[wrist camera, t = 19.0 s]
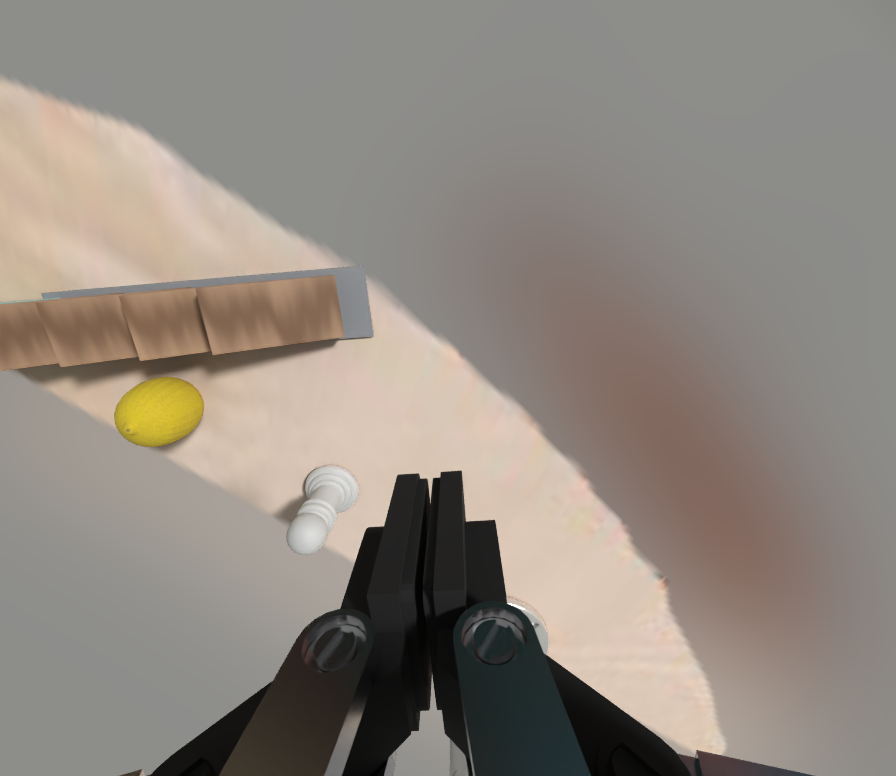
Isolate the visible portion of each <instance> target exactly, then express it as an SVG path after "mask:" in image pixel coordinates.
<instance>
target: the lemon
mask: <svg viewBox="0 0 896 776" xmlns="http://www.w3.org/2000/svg"><path fill="white" fill-rule="evenodd" d="M203 411H204V403H203V399H202V396H201V394H200V393H199V391H198V390H197V389H196V388H195V387H194V386H193V385H192V384H190V383H189V382H187V381H184V380H182V379H179V378H173V377H161V378H154V379H151V380H148V381H145V382H143V383H140V384H138V385H137V386H135V387H134V388H133V389H131V390H130V391H129V392H127V393H126V394H125V395H124V396H123V397H122V398H121V400H120V401H119V403H118V404H117V406H116V410H115V414H114V418H115V424H116V427H117V429H118V431H119V432H120V434H121V435H122V436H123V437H124V438H126V439H127V440H128V441H130V442H132V443H134V444H136V445H140V446H145V447H157V446H162V445H167V444H170V443H173V442H175V441H177V440H179V439H181V438H183V437H185V436H186V435H188V434H189V433H190V432H191V431H192V430H193V429H194V428H195V427H196V426H197V425H198V423H199V422H200V420H201V418H202V416H203Z"/></svg>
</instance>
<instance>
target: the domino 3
mask: <svg viewBox="0 0 896 776" xmlns="http://www.w3.org/2000/svg"><path fill="white" fill-rule="evenodd" d="M256 282H262V281H256ZM246 283H251V282H246ZM236 284H240V283H236ZM226 285H229V284H226ZM216 286H219V285H216ZM206 287H208V286H206ZM195 288H200V287H195ZM195 288H185V289H175V290H165V291H155V292H145V293H135V294H127V295H121V296H119V299H120V302H121V305H122V308H123V311H124V314H125V317H126V320H127V323H128V326H129V329H130V332H131V335H132V338H133V341H134V344H135V347H136V350H137V353H138V356H139V359H140V361H144V360H151V359H159V358H166V357H173V356H181V355H188V354H195V353H203V352H210V351H212V350H211V347H210V343H209V339H208V335H207V332H206V328H205V324H204V320H203V317H202V313H201V309H200V305H199V301H198V298H197V294H196V290H195Z"/></svg>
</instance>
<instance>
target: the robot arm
mask: <svg viewBox="0 0 896 776" xmlns="http://www.w3.org/2000/svg"><path fill="white" fill-rule="evenodd" d="M548 647H549V639H548V633H547V630H546V626H545V624H544V622H543V620H542V618H541V617H540V616H539V614H538V613H537V612H536V611H535V610H534V609H532V608H531V607H530V606H528V605H527V604H524V603H522V602H520V601H518V600H515V599H512V598H508V597H506V591H505V584H504V577H503V571H502V564H501V557H500V550H499V543H498V536H497V529H496V523H495V520H487V521H470V522H466V518H465V505H464V493H463V481H462V471H450V472H441V477H440V478H433V484H432V494H431V504H430V497H429V488H428V480H427V479H420V476H419V473H418V474H403V475H398V476H397V479H396V483H395V486H394V490H393V494H392V498H391V502H390V506H389V510H388V514H387V518H386V521H385V525H384V527H368V528H367V529H366V531H365V533H364V536H363V540H362V543H361V546H360V549H359V552H358V555H357V558H356V561H355V565H354V568H353V571H352V574H351V577H350V580H349V583H348V587H347V590H346V593H345V596H344V599H343V602H342V606H341V608H340V609H337V610H334V611H330V612H327V613H325V614H323V615H321V616H319V617H318V618H316V619H314V620H313V621H312V622H311V623H310V624H308V625H307V626H306V627H305V628H304V629H303V631H302V632H301V634H300V635H299V636H298V638H297V639H296V641H295V643H294V644H293V646H292V648H291V650H290V651H289V653H288V655H287V657H286V659H285V660H284V662H283V664H282V666H281V667H280V669H279V671H278V673H277V674H276V676H275V678H274V680H273V681H272V682H270V683H269V684H268V685H266V686H265V687H264V688H262V689H261V690H260V691H258V692H257V693H255V694H254V695H253V696H251V697H250V698H249V699H247V700H246V701H245V702H243V703H242V704H241V705H239V706H238V707H237V708H235V709H234V710H233V711H231V712H230V713H228V714H227V715H226V716H224V717H223V718H222V719H220V720H219V721H217V722H216V723H215V724H213V725H212V726H211V727H209V728H208V729H207V730H205V731H204V732H203V733H201V734H200V735H199V736H197V737H196V738H195V739H193V740H192V741H190V742H189V743H188V744H186V745H185V746H184V747H182V748H181V749H180V750H178V751H177V752H176V753H174V754H173V755H171V756H170V757H169V758H168V759H167V760H166V761H165V762H164V763H162V764H161V765H160V766H159V767H158V768H157V769H156V770H155V771H154V772H153V773H152V774H151V775H147V776H393V774H394V770H395V764H396V755H397V753H396V749H397V748H398V747H399V746H400V745H401V744H402V743H403V742H404V741H405V740H406V739H407V738H408V737H409V736H410V735H411V731H418V730H419V720H420V711H426V710H429V708H430V696H431V678H432V675H433V682H434V690H435V698H436V705H437V710H442V714H443V721H444V729H445V734H446V735H447V736H448V737H449V738H450V776H814V775H810V774H805V773H800V772H795V771H791V770H786V769H782V768H777V767H773V766H768V765H763V764H759V763H754V762H750V761H745V760H740V759H736V758H731V757H726V756H722V755H717V754H712V753H708V752H703V751H699V750H696V755H695V757H691V756H686V755H682V754H677V753H676V752H675V751H674V750H673V749H672V748H671V747H670V746H669V745H667V744H666V743H665V742H664V741H663V740H662V739H661V738H660V737H658V736H657V735H656V734H654V733H653V732H651V731H650V730H649V729H647V728H646V727H645V726H643V725H642V724H640V723H639V722H638V721H636V720H635V719H634V718H632V717H631V716H629V715H628V714H627V713H625V712H624V711H623V710H621V709H620V708H618V707H617V706H616V705H614V704H613V703H612V702H610V701H609V700H608V699H606V698H605V697H603V696H602V695H601V694H599V693H598V692H597V691H595V690H594V689H592V688H591V687H590V686H588V685H587V684H586V683H584V682H583V681H581V680H580V679H579V678H577V677H576V676H575V675H573V674H572V673H570V672H569V671H568V670H566V669H565V668H564V667H562V666H561V665H560V664H558V663H557V662H555V661H554V660H553V659H551V658H550V657H549V656H547V652H548ZM120 776H145V773H144V771H143V770H142V769H140V770H137V771H134V772H130V773H127V774H123V775H120Z"/></svg>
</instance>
